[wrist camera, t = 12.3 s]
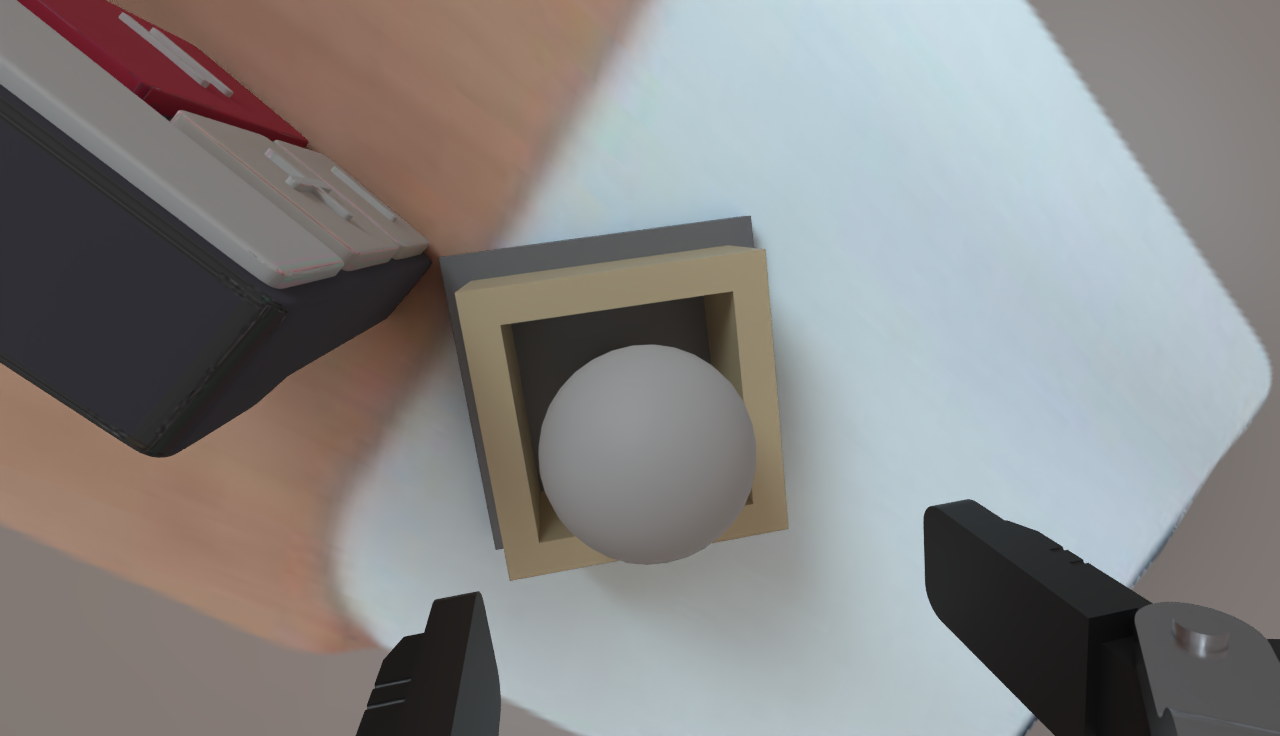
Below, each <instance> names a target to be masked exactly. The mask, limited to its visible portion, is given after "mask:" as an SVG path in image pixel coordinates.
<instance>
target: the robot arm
mask: <svg viewBox="0 0 1280 736" xmlns="http://www.w3.org/2000/svg"><path fill="white" fill-rule="evenodd" d="M924 557H925V586H926V591H927V595H928V599H929V601H930V604H931V606H932V608H933V610H934V612H935V613H936V615H937V616H938V618H939V619H940V620H941V621H942V622H943V623H944V624H945V625H946V626H947V627H948V628H949V629H950V630H951V631H952V632H953V633H954V634H955V635H956V636H957V637H958V638H959V639H960V640H961V641H962V642H963V643H964V644H965V645H966V647H967V648H968V649H969V650H970V651H971V652H972V653H973V654H974V655H975V656H976V657H977V658H978V659H979V660H980V661H981V662H982V663H983V664H984V665H985V666H986V667H987V668H988V669H989V670H990V671H991V672H992V673H993V674H994V675H995V676H996V677H997V678H998V679H999V680H1000V681H1001V682H1002V683H1003V684H1004V685H1005V686H1006V687H1007V688H1008V689H1009V690H1010V691H1011V692H1012V693H1013V694H1014V695H1015V696H1016V697H1017V698H1018V699H1019V700H1020V701H1021V702H1022V703H1023V704H1024V705H1025V706H1026V707H1027V708H1028V709H1029V710H1030V711H1031V712H1032V713H1033V714H1034V715H1035V716H1036V717H1037V718H1038V719H1039V720H1040V721H1041V722H1042V723H1043V724H1044V725H1045V726H1046V727H1047V728H1048V729H1049V730H1050V731H1051V732H1052V733H1053V734H1054V735H1055V736H1280V639H1266V638H1265V637H1264V636H1263V635H1262V634H1261V633H1260V632H1259V631H1257V630H1256V629H1255V628H1254V627H1252V626H1250V625H1249V624H1247V623H1245V622H1244V621H1242V620H1240V619H1238V618H1236V617H1233V616H1231V615H1229V614H1226V613H1224V612H1221V611H1218V610H1215V609H1212V608H1208V607H1204V606H1200V605H1194V604H1189V603H1179V602H1160V603H1154V604H1153V603H1151V602H1149V601H1148V600H1146V599H1145V598H1143V597H1141V596H1140V595H1138V594H1137V593H1135V592H1134V591H1132V590H1130V589H1129V588H1127V587H1126V586H1124V585H1122V584H1121V583H1119V582H1118V581H1116V580H1115V579H1113V578H1111V577H1110V576H1108V575H1107V574H1105V573H1103V572H1102V571H1100V570H1099V569H1097V568H1096V567H1094V566H1092V565H1091V564H1089V563H1084V562H1083V559H1081V558H1080V557H1078V556H1076V555H1075V554H1073V553H1072V552H1070V551H1069V550H1063V547H1062V546H1061V545H1059V544H1057V543H1056V542H1054V541H1053V540H1051V539H1049V538H1048V537H1046V536H1045V535H1043V534H1042V533H1040V532H1038V531H1036V530H1033V529H1030V528H1027V527H1024V526H1021V525H1019V524H1016V523H1013V522H1010V521H1007V520H1006V521H1005V520H1003V519H1002V518H1000V517H998V516H997V515H995V514H994V513H992V512H991V511H989V510H988V509H986V508H985V507H983V506H982V505H980V504H979V503H977V502H975V501H973V500H970V499H967V500H961V501H956V502H951V503H946V504H940V505H935V506H930V507H928V508H927V509H926V511H925V514H924ZM500 711H501V695H500V683H499V675H498V669H497V664H496V659H495V655H494V650H493V645H492V640H491V635H490V630H489V626H488V621H487V616H486V611H485V606H484V602H483V598H482V595H481V593H480V592H479V591H478V592H472V593H467V594H462V595H457V596H451V597H446V598H441V599H436V600H434V602H433V604H432V608H431V611H430V615H429V618H428V621H427V625H426V628H425V632H424V633H421V634H416V635H411V636H406V637H403V639H402V640H401V641H400V642H399V643H398V644H397V645H396V646H395V648H394V649H393V650H392V651H391V652H390V653H389V654H388V655H387V657H386V658H385V659H384V660H383V662H382V665H381V668H380V671H379V673H378V676H377V679H376V682H375V689H373V690H372V693H371V695H370V698H369V701H368V704H367V710H365V712H364V715H363V718H362V720H361V723H360V726H359V728H358V731H357V734H356V736H498V735H499V722H500Z"/></svg>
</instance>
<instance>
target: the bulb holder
mask: <svg viewBox="0 0 1280 736" xmlns="http://www.w3.org/2000/svg"><path fill="white" fill-rule="evenodd" d="M439 262H440V268H441V273H442V278H443V283H444V288H445V293H446V298H447V303H448V308H449V314H450V319H451V324H452V329H453V334H454V339H455V344H456V349H457V355H458V360H459V365H460V370H461V375H462V380H463V385H464V390H465V395H466V401H467V406H468V411H469V416H470V421H471V426H472V431H473V436H474V441H475V447H476V452H477V457H478V462H479V467H480V472H481V477H482V482H483V487H484V493H485V498H486V503H487V508H488V513H489V518H490V523H491V528H492V533H493V539H494V544H495V549H496V550H498V549H503V548H504V553H505V558H506V563H507V568H508V573H509V579H510V581H512V580H517V579H523V578H528V577H533V576H539V575H544V574H549V573H555V572H560V571H565V570H571V569H576V568H581V567H587V566H592V565H597V564H603V563H608V562H613V561H619V560H616V559H612V558H609V557H607V556H605V555H603V554H601V553H599V552H597V551H595V550H593V549H591V548H590V547H589V546H587V545H586V544H585V543H583V542H582V541H581V540H580V539H578V538H577V537H576V536H575V535H573V534H572V533H571V532H570V531H569V530H568V528H567V527H566V526H565V525H564V524H563V522H562V521H561V520H560V519H559V518H558V516H557V514H556V512H555V511H554V509H553V507H552V505H551V503H550V501H549V499H548V497H547V495H546V493H545V490H544V487H543V483H542V480H541V476H540V469H539V453H538V452H539V441H540V435H541V428H542V424H543V421H544V419H545V416H546V413H547V410H548V408H549V405H550V404H551V402H552V401H553V399H554V397H555V396H556V394H557V392H558V391H559V389H560V388H561V387H562V386H563V385H564V384H565V382H566V381H567V380H568V379H569V378H570V377H571V376H572V375H573V374H574V373H575V372H576V371H578V370H579V369H580V368H582V367H583V366H584V365H586V364H587V363H589V362H590V361H591V360H593V359H595V358H597V357H599V356H602V355H604V354H606V353H608V352H610V351H613V350H617V349H621V348H625V347H629V346H634V345H661V346H668V347H674V348H677V349H680V350H683V351H686V352H689V353H691V354H694V355H696V356H697V357H699V358H701V359H702V360H704V361H706V362H707V363H709V364H710V365H712V366H713V367H714V368H715V369H717V370H718V371H719V372H720V373H721V374H722V375H723V376H724V377H725V378H726V379H727V380H728V381H729V382H730V383H731V384H732V385H733V387H734V388H735V390H736V391H737V392H738V394H739V395H740V397H741V398H742V400H743V402H744V404H745V407H746V409H747V411H748V414H749V416H750V419H751V422H752V425H753V430H754V435H755V440H756V469H755V474H754V479H753V484H752V488H751V491H750V494H749V496H748V498H747V501H746V503H745V505H744V508H743V509H742V511H741V512H740V514H739V515H738V517H737V518H736V520H735V521H734V523H733V524H732V525H731V526H730V527H729V528H728V529H727V530H726V531H725V532H724V533H723V534H722V535H721V536H720V537H719V538H718V539H717V540H715V541H714V542H712V543H715V542H720V541H726V540H731V539H736V538H742V537H747V536H752V535H758V534H763V533H768V532H774V531H779V530H784V529H788V517H787V505H786V493H785V481H784V469H783V456H782V444H781V432H780V420H779V408H778V396H777V384H776V371H775V359H774V347H773V335H772V323H771V311H770V299H769V286H768V274H767V262H766V250H765V249H758V248H754V246H753V234H752V223H751V216H741V217H734V218H726V219H719V220H711V221H704V222H696V223H689V224H682V225H674V226H667V227H659V228H652V229H644V230H637V231H629V232H622V233H614V234H607V235H599V236H592V237H584V238H577V239H569V240H562V241H555V242H547V243H540V244H532V245H525V246H517V247H510V248H502V249H495V250H487V251H480V252H472V253H465V254H457V255H450V256H443V257H439Z"/></svg>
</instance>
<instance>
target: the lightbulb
mask: <svg viewBox="0 0 1280 736" xmlns="http://www.w3.org/2000/svg"><path fill="white" fill-rule="evenodd" d="M538 453H539V469H540V476H541V480H542V483H543V487H544V490H545V493H546V495H547V497H548V499H549V501H550V503H551V505H552V507H553V509H554V511H555V512H556V514H557V516H558V518H559V519H560V520H561V521H562V522H563V524H564V525H565V526H566V527H567V528H568V530H569V531H570V532H571V533H572V534H573V535H575V536H576V537H577V538H578V539H580V540H581V541H582V542H583V543H585V544H586V545H587V546H589V547H590V548H591V549H593V550H595V551H597V552H599V553H601V554H603V555H605V556H607V557H609V558H612V559H616V560H619V561H623V562H626V563H635V564H646V565H648V564H659V563H668V562H671V561H675V560H678V559H682V558H686V557H688V556H690V555H692V554H694V553H696V552H698V551H700V550H702V549H704V548H705V547H707V546H708V545H710V544H711V543H712V542H714V541H715V540H717V539H718V538H719V537H720V536H721V535H722V534H723V533H724V532H725V531H726V530H727V529H728V528H729V527H730V526H731V525H732V524H733V523H734V521H735V520H736V518H737V517H738V515H739V514H740V512H741V511H742V509H743V508H744V505H745V503H746V501H747V498H748V496H749V494H750V491H751V488H752V484H753V479H754V474H755V469H756V440H755V435H754V430H753V425H752V422H751V419H750V416H749V414H748V411H747V409H746V407H745V404H744V402H743V400H742V398H741V397H740V395H739V394H738V392H737V391H736V390H735V388H734V387H733V385H732V384H731V383H730V382H729V381H728V380H727V379H726V378H725V377H724V376H723V375H722V374H721V373H720V372H719V371H718V370H717V369H715V368H714V367H713V366H712V365H710V364H709V363H707V362H706V361H704V360H702V359H701V358H699V357H697V356H696V355H694V354H691V353H689V352H686V351H683V350H680V349H677V348H674V347H668V346H661V345H634V346H629V347H625V348H621V349H617V350H613V351H610V352H608V353H606V354H604V355H602V356H599V357H597V358H595V359H593V360H591V361H590V362H589V363H587V364H586V365H584V366H583V367H582V368H580V369H579V370H578V371H576V372H575V373H574V374H573V375H572V376H571V377H570V378H569V379H568V380H567V381H566V382H565V384H564V385H563V386H562V387H561V388H560V389H559V391H558V392H557V394H556V396H555V397H554V399H553V401H552V402H551V404H550V405H549V408H548V410H547V413H546V416H545V419H544V421H543V424H542V428H541V435H540V441H539V452H538Z"/></svg>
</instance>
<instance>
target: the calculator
mask: <svg viewBox="0 0 1280 736" xmlns="http://www.w3.org/2000/svg"><path fill="white" fill-rule="evenodd" d="M307 144H308V140H307V139H306V138H305V137H303V136H302V135H301V134H300V133H299V132H298V131H296V130H295V129H294V128H293V127H292V126H290V125H289V124H288V123H287V122H286V121H284V120H283V119H282V118H281V117H280V116H278V115H277V114H276V113H275V112H274V111H272V110H271V109H270V108H269V107H268V106H266V105H265V104H264V103H263V102H262V101H260V100H259V99H258V98H257V97H256V96H254V95H253V94H252V93H251V92H250V91H248V90H247V89H246V88H245V87H244V86H242V85H241V84H240V83H239V82H238V81H236V80H235V79H234V78H233V77H232V76H230V75H229V74H228V73H227V72H226V71H224V70H223V69H222V68H221V67H220V66H218V65H217V64H216V63H215V62H214V61H212V60H211V59H210V58H209V57H208V56H206V55H205V54H204V53H203V52H201V51H200V50H199V49H198V48H196V47H195V46H194V45H192V44H190V43H188V42H187V41H185V40H183V39H181V38H179V37H177V36H175V35H173V34H171V33H169V32H167V31H165V30H163V29H161V28H159V27H157V26H155V25H153V24H151V23H149V22H147V21H145V20H143V19H141V18H139V17H137V16H135V15H133V14H131V13H129V12H128V11H126V10H124V9H122V8H120V7H118V6H116V5H114V4H112V3H110V2H108V1H106V0H0V363H2V364H3V365H5V366H7V367H8V368H10V369H11V370H13V371H14V372H16V373H17V374H19V375H20V376H22V377H23V378H25V379H26V380H28V381H30V382H31V383H33V384H34V385H36V386H37V387H39V388H40V389H42V390H43V391H45V392H46V393H48V394H50V395H51V396H53V397H54V398H56V399H57V400H59V401H60V402H62V403H63V404H65V405H66V406H68V407H69V408H71V409H73V410H74V411H76V412H77V413H79V414H80V415H82V416H83V417H85V418H86V419H88V420H89V421H91V422H92V423H94V424H96V425H97V426H99V427H100V428H102V429H103V430H105V431H106V432H108V433H109V434H111V435H112V436H114V437H115V438H117V439H119V440H120V441H122V442H123V443H125V444H127V445H128V446H130V447H131V448H133V449H135V450H136V451H138V452H140V453H142V454H145V455H148V456H151V457H158V458H159V457H169V456H172V455H174V454H176V453H178V452H180V451H182V450H183V449H185V448H187V447H188V446H190V445H192V444H193V443H195V442H197V441H198V440H200V439H201V438H203V437H205V436H206V435H208V434H209V433H211V432H213V431H214V430H216V429H217V428H219V427H221V426H222V425H224V424H226V423H227V422H229V421H230V420H232V419H234V418H235V417H237V416H238V415H240V414H242V413H243V412H245V411H246V410H248V409H250V408H251V407H253V406H254V405H255V404H257V403H258V402H259V401H260V400H261V399H263V398H264V397H265V396H266V395H267V394H268V393H269V392H270V391H272V390H273V389H274V388H275V387H276V386H277V385H278V384H279V383H281V382H282V381H283V380H284V379H285V378H286V377H287V376H289V375H290V374H292V373H294V372H295V371H297V370H299V369H301V368H302V367H304V366H306V365H307V364H309V363H311V362H313V361H314V360H316V359H318V358H319V357H321V356H323V355H325V354H326V353H328V352H330V351H331V350H333V349H335V348H337V347H338V346H340V345H342V344H344V343H345V342H347V341H349V340H350V339H352V338H354V337H356V336H357V335H359V334H361V333H362V332H364V331H366V330H368V329H369V328H371V327H373V326H374V325H376V324H378V323H380V322H381V321H383V320H385V319H386V318H387V317H388V316H389V315H390V314H391V313H392V311H393V310H394V309H395V308H396V307H397V305H398V304H399V303H400V302H401V301H402V300H403V298H404V297H405V296H406V295H407V294H408V293H409V291H410V290H411V289H412V288H413V287H414V285H415V284H416V283H417V282H418V281H419V279H420V278H421V277H422V276H423V275H424V273H425V272H426V271H427V270H428V269H429V267H430V266H431V264H432V262H431V260H430V258H429V257H428V256H426V255H425V254H424V253H423V251H424V250H425V249H426V248H427V246H428V245H429V241H428V240H427V239H426V238H425V237H424V236H423V235H421V234H420V233H419V232H418V231H417V230H415V229H414V228H413V227H412V226H411V225H409V224H408V223H407V222H406V221H405V220H403V219H402V218H401V217H400V216H399V215H397V214H396V213H395V212H394V211H393V210H391V209H390V208H389V207H388V206H387V205H385V204H384V203H383V202H382V201H381V200H379V199H378V198H377V197H376V196H375V195H373V194H372V193H371V192H370V191H369V190H367V189H366V188H365V187H364V186H363V185H361V184H360V183H359V182H358V181H357V180H355V179H354V178H353V177H352V176H351V175H349V174H348V173H347V172H346V171H345V170H343V169H342V168H341V167H340V166H339V165H337V164H336V163H335V162H334V161H332V160H331V159H330V158H329V157H327V156H325V155H323V154H321V153H318V152H315V151H311V150H308V149H305V147H306V145H307Z"/></svg>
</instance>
